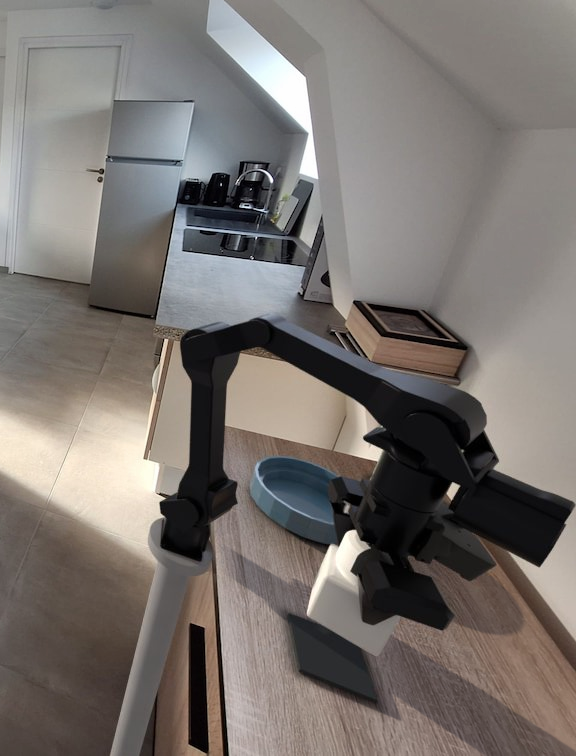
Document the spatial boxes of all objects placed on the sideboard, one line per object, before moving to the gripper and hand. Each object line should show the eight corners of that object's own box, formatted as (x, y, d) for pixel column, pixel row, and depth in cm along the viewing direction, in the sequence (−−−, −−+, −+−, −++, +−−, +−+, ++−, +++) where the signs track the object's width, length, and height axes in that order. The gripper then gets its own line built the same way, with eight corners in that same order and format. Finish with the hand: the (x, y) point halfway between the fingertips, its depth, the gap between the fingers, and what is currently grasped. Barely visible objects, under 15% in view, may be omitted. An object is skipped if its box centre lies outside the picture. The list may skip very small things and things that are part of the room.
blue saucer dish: (253, 525, 79) (261, 503, 78) (244, 465, 94) (250, 446, 92) (374, 563, 73) (386, 540, 71) (344, 493, 88) (353, 472, 86)
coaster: (298, 671, 58) (299, 668, 57) (287, 615, 64) (288, 612, 64) (376, 703, 55) (378, 700, 54) (356, 641, 61) (357, 638, 61)
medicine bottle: (380, 616, 58) (418, 546, 54) (377, 659, 53) (419, 586, 48) (313, 580, 62) (344, 512, 58) (305, 616, 57) (338, 545, 53)
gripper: (563, 595, 39) (484, 705, 45) (456, 464, 55) (407, 557, 61) (402, 547, 43) (347, 653, 49) (345, 437, 59) (309, 527, 65)
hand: (356, 591), depth 56 cm, fingers closed on medicine bottle, 8 cm apart
